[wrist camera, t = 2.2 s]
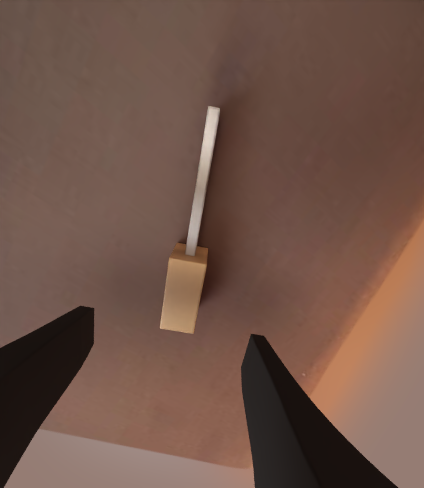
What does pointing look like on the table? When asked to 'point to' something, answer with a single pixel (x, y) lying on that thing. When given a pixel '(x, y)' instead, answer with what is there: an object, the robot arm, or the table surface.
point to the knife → (190, 248)
